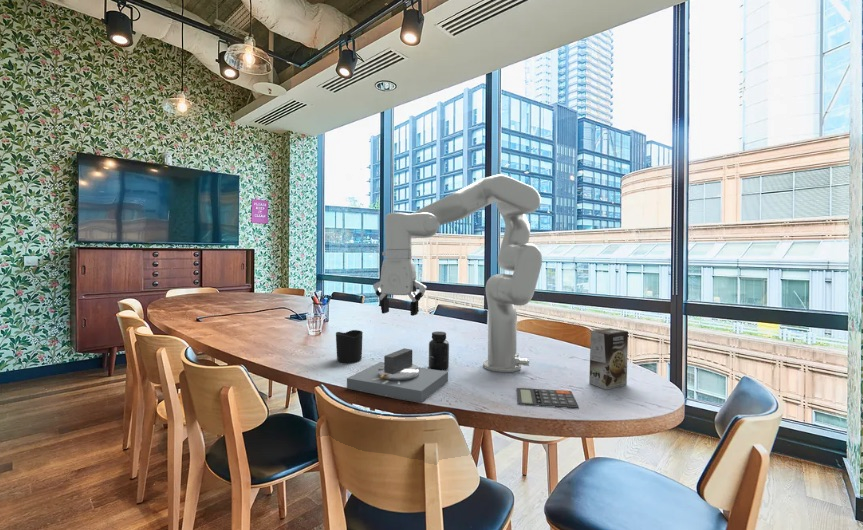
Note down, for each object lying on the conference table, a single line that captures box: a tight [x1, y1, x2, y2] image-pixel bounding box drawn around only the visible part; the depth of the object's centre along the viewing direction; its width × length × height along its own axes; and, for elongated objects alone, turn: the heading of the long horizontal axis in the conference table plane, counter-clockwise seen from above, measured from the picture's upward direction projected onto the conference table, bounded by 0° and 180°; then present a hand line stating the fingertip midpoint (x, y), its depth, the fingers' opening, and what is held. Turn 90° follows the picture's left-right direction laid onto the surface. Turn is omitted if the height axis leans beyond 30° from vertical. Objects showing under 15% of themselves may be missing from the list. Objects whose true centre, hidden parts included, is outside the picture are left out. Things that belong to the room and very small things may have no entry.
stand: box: [346, 361, 449, 403], centre depth 118 cm, size 24×18×3 cm
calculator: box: [516, 387, 580, 409], centre depth 108 cm, size 12×1×15 cm
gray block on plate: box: [378, 348, 420, 381], centre depth 116 cm, size 14×12×6 cm
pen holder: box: [335, 329, 363, 364], centre depth 143 cm, size 9×9×10 cm
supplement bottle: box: [428, 331, 450, 371], centre depth 134 cm, size 7×7×12 cm
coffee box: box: [588, 327, 629, 390], centre depth 118 cm, size 9×6×16 cm
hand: (399, 313), depth 117 cm, fingers open, 9 cm apart
